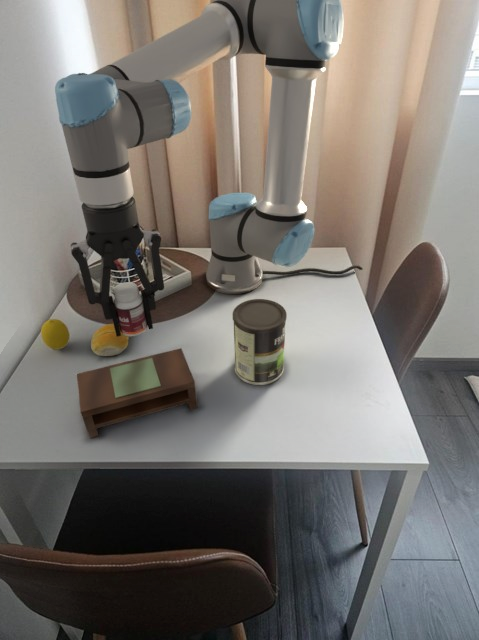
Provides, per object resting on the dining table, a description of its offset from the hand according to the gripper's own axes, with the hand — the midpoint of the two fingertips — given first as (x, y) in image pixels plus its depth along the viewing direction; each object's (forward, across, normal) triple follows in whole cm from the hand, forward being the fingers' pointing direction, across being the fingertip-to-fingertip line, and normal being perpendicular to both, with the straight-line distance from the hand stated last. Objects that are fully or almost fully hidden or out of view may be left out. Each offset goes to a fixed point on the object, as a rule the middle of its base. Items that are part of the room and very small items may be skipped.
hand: (133, 327), depth 77 cm
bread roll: (+17, +5, -18) cm, 25 cm away
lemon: (+17, +16, -21) cm, 31 cm away
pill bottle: (0, 0, 0) cm, 0 cm away
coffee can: (+17, -23, +1) cm, 29 cm away
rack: (+17, +2, +2) cm, 17 cm away
